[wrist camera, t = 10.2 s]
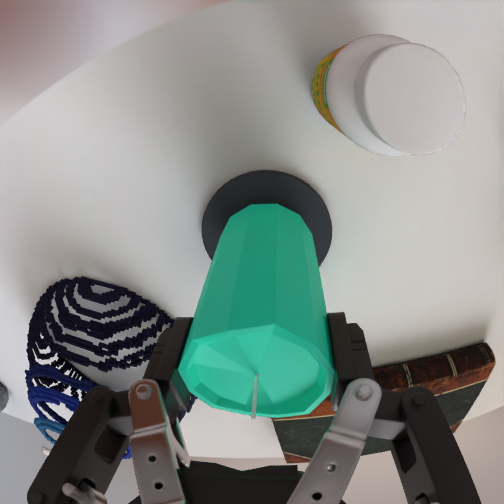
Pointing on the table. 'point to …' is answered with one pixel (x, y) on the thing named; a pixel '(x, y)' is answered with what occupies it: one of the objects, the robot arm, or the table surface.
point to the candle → (261, 320)
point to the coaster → (267, 192)
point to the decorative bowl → (83, 346)
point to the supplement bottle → (390, 95)
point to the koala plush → (3, 397)
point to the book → (398, 379)
